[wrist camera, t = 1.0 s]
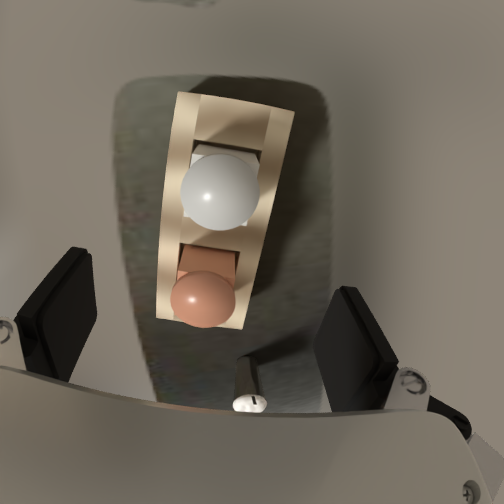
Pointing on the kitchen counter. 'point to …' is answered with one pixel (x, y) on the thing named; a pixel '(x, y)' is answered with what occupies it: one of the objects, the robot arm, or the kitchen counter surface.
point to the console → (179, 159)
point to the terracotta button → (204, 286)
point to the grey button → (220, 187)
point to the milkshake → (248, 386)
